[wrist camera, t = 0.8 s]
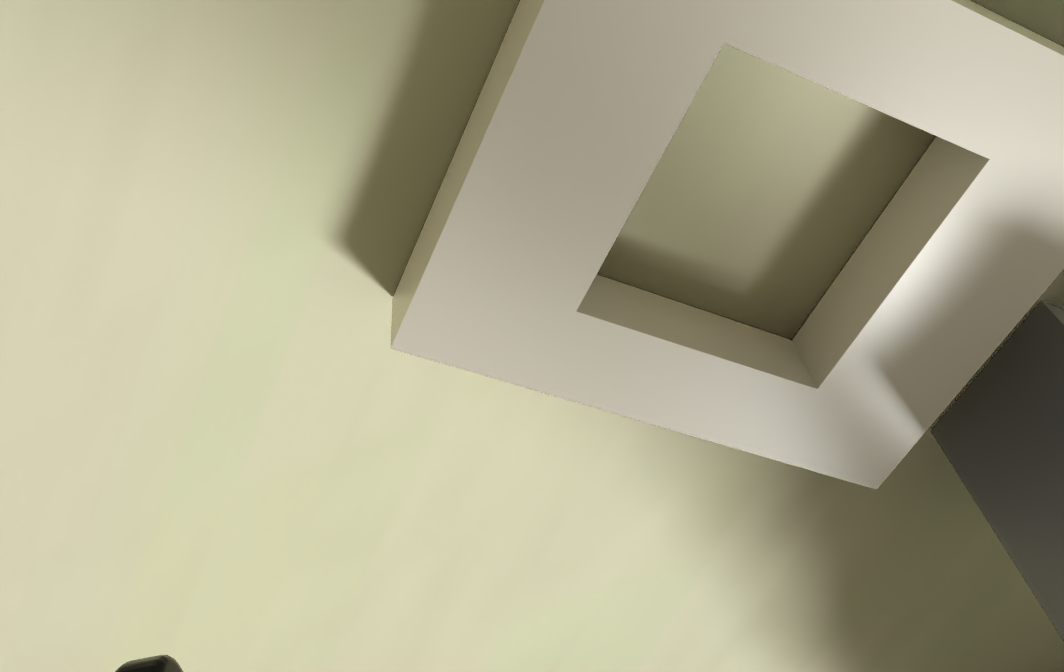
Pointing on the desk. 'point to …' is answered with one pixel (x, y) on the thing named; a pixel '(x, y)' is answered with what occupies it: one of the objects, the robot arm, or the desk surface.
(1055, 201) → the socket plate
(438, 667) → the desk surface
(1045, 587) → the charger
